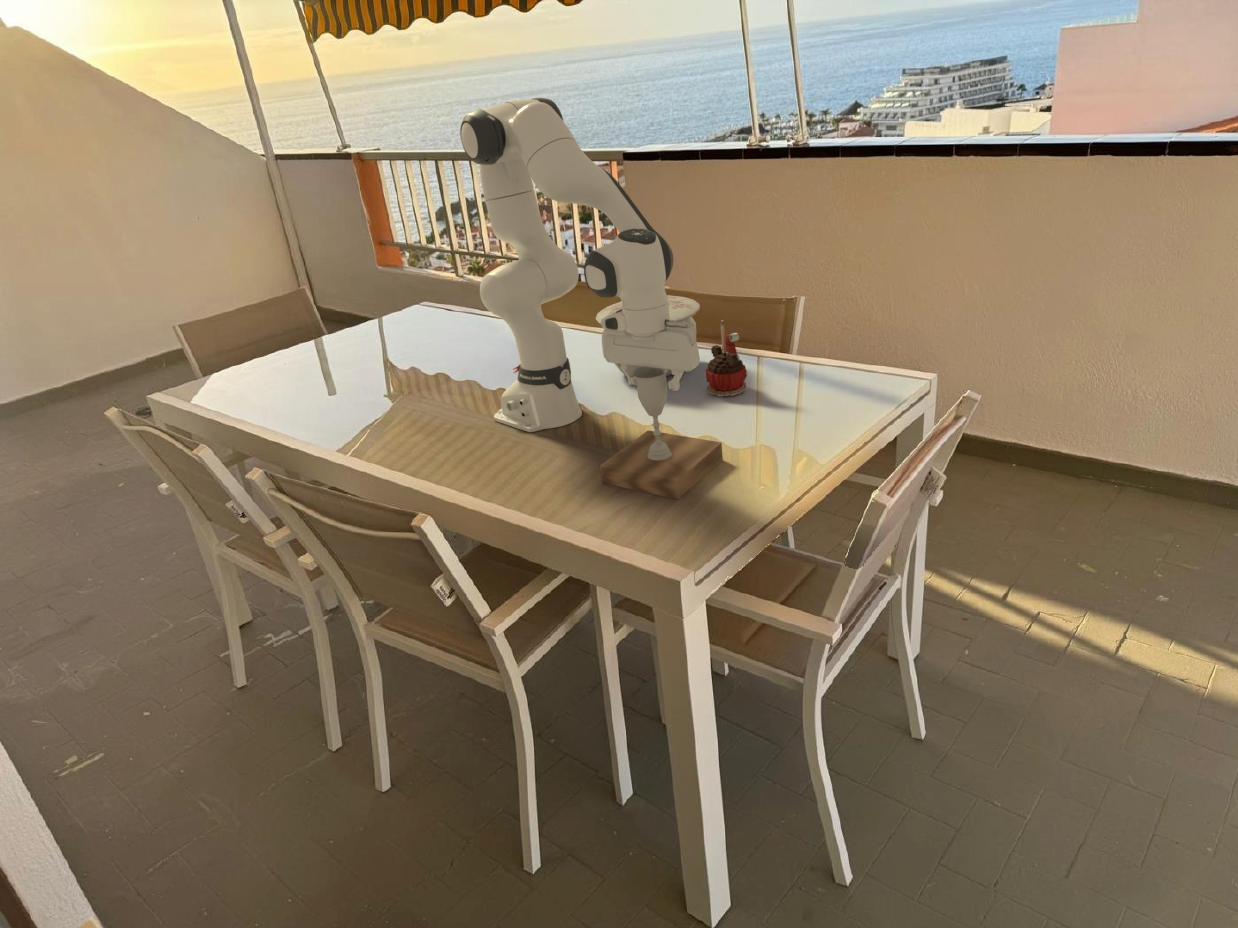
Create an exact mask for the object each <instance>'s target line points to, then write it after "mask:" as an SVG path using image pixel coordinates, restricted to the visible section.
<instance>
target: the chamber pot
mask: <svg viewBox="0 0 1238 928" xmlns="http://www.w3.org/2000/svg"><path fill="white" fill-rule="evenodd" d="M666 295H667V294H666ZM667 297H668V304H669V315H670V320H674V321H680V322H681V321H685V322H688V324H690V325H691V326H692V327H693V328H694V329H695V332H696V333H697V323H696V321H695V320H694V318H693V317H694V316H695V315H696V313H698V312H699V311H700V309H701V308H700V307H701V305H700V303H699V302H698V301H696V300H694V299H692V298H689V297H685V296H678V295H677V296H676V295H671V294H669V295H667ZM621 303H622V302H621V301H619V302H616V303H614V304H611V305H608V306H606V307H605V308H604V307H603V309H602V310H600V311H598V312H597V314H596V317H595V320H596V321H597V322H598V324H600V325H601V320H602V319H603V318H604V317H606V316H608V315H609V314H611V313H613V312H616V311H618V310H620V309H622V308H621ZM688 327H689V326H688ZM613 364H614V365H615V367H617V369H618V370H619V371H620V372H621V373H622V374H623V375H624V376H626V375H625V373H624V372H623V370H622V369H621V364H618V363H613ZM640 367H643V366H635V365H632V366H631V368H632V369H633V371H634V370H636V369H637V368H640ZM669 376H673V375H672V371H671V370H669V369H668V371H667V373H666V377H669Z"/></svg>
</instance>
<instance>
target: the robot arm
mask: <svg viewBox="0 0 1238 928" xmlns="http://www.w3.org/2000/svg"><path fill="white" fill-rule="evenodd" d="M461 121H462V122H461V125H460V133H459V134H460V140H461V144H462V147H463V150H464V152H465V155H466V156H467V158H469V159H470V161H472V162H473V163H475V164H476V165H479V173H480V174H479V175H480V181H481V182H480V183H481V188H482V193H483V198H484V202H485V205H486V210H487V214H488V218H489V222H490V226H491V229H492V232H493V234H494V236H495V237H496V238H497V239H498V240H499V241H501V242H502V243H506V244H510V245H511V246H512V248H513V249H514V250H515V252H516V254H517V256H518V257H517V258H518V260H515V261H511V262H508V263H506V264H503V265H499V266H498V267H496V268H494V269H493V270H491V271H489V272H487V274H485V275H484V276H483V277H482V278H481V281H480V284H479V295H480V299H481V301H482V303H483V305H484V307H485V308H486V309H487V310H488V311H489V312H490V313H491V314H493V315H495V316H497V317H499V318H500V319H502V321H504V322H505V323H506V325H508V327H509V328H510V330H511V332H512V334H513V337H514V339H515V343H516V348H517V352H518V357H519V361H520V363H519V364H518V365H517V366H516V367H514V368H512V370H514V371H513V374H516V373H517V379H515V381H514V382H513V383H512V384H511V385H509V386H508V388H506V390H504V391H503V393H502V395H501V398H500V399H501V400H500V402H501V403H500V404H501V408H500V409H499V410H497V411H496V412H495V414H494V415H493V420H494V421H495V422H497V423H501V424H503V425H506V426H510V427H511V428H512V427H513V428H516V429H518V430H522V431H524V432H527V433H533V432H538V431H542V430H546V429H554V428H560V427H563V426H567V425H570V424H571V423H573V422H575V421H577V420H578V419H580V418H581V416H582V414H583V410H582V408H581V407H580V404H579V401H578V398H577V396H576V392H575V389H574V385H573V381H572V374H571V373H572V370H571V362H570V359H569V358H568V357H567V350H566V345H565V338H564V332H563V329H562V327H561V326H560V325H559V324H558V323H556V322H555V321H553V320H551V319H548V318H546V317H545V316H544V314H543V311H542V305H543V304H546V303H549V302H552V301H553V300H556V299H559V298H561V297H563V296H564V295H566V294H567V293H569V292H570V291H571V290H573V289H574V288H575V287H576V286H577V285H578V282H579V273H580V272H579V268H578V264H577V262H576V260H575V259H574V257H573V256H572V255H571V254H570V253H568V251H565V250H564V249H562V248H561V247H559V245H557V244H556V243H555V241H553V239H552V237H551V236H550V235H549V233H548V231H547V229H546V227H545V224H544V222H543V220H542V216H541V211H540V207H539V204H538V199H537V196H536V192H535V189H534V185H535V187H536V188H537V190H539V191H540V192H541V194H542V195H544V196H545V197H546V198H548V199H550V200H552V201H555V202H558V203H563V204H576V205H580V206H586V207H590V208H593V209H596V210H598V211H601V213H603V214H604V215H605V216H606V217H607V218H608V219H609V221H610V222H611V223H612V225H613V226H614V227H615V229H616V230H617V231H618V234H617V235H616V237H615V239H614V240H613V241H611V242H609V243H607V244H605V245H603V246H600V247H597V248H596V249H594V250H591V251H590V252H589V253H588V254H587V256H586V258H585V261H584V265H583V274H584V280H585V283H586V285H587V288H588V289H589V290H590V291H591V292H592V293H593V294H594V295H596V296H598V297H600V298H603V299H604V298H605V299H607V298H614V297H617V298H619V299H620V300H621V301H620V302H622V303H621V308H622V309H620V310H618V311H616V312H613V313H611V314H609V315H608V316H606V317H604V318H603V319H602V320H601V324H600V325H601V327H602V329H603V331H602V334H601V348H602V356H603V358H604V359H605V360H606V362H607V363H611V364H614V363H618V364H621V369H622V370H623V372H624V373H625V375H624V376H625V377H626V378H627V384H628V386H637V383H636V378H635V377H634V375H633V372H634V371H633V369H632V368H631V366H632V365H635V366H643V367H652V368H661V369H669V370H671V371H672V375H671V376H673V375H674V376H673V378H672V379H670V380H669V381H667V385H668V386H667V387H668V390H669V391H674V392H677V391H679V390H680V386H681V385H680V381H681V378H682V376H683V374H684V372H688V373H689V372H691V371H693V370H694V369H697V367H698V365H700V361H701V357H700V352H699V347H698V342H697V331H696V332H695V329H694V328H693V327H692V326H691V325H690V324H688V322H685V321H681V322H680V321H674V320H670V315H669V304H668V297H667V293H666V282H667V280H668V279H669V277H670V275H671V273H672V270H673V268H674V253H673V250H672V248H671V247H670V246H671V245H669V243H668V241H666V240H665V239H664V237H663V236H662V235H661V234H660V233H658V232H657V231H656V230H655V229H654V228H653V226H651V224H650V223H649V221H648V220H647V219H646V218H645V217H644V214H643V213H642V212H641V211H640V210H639V208H638V207H637V206H636V205H635V203H634V202H633V200H632V199H631V197H630V196H629V195H628V193H627V192H626V191H625V190H624V188H623V187H622V185H621V184H620V183H619V182H618V181H617V180H616V178H615V177H614V176H613V175H612V174H611V172H609V171H607V170H606V169H604V168H601V167H600V166H599V165H597V164H596V162H594V161H592V159H591V158H589V157H588V155H586V154H585V152H584V151H583V150H582V149H581V147H580V146H579V144H578V142H577V140H576V138H575V137H574V135H573V134H572V132H571V130H570V128H569V127H568V126H567V124H566V123H565V121H564V118H563V115H562V112H561V110H560V108H559V107H558V106H557V104H556V102H554V101H553V100H552V99H549V98H545V97H533V98H531V99H518V100H511V101H505V102H504V103H500V104H496V105H492V106H490V107H487V108H484V109H482V108H479V109H476V110H474V111H472V112H470V113H468V114H466V115H465V116H464V117H463V119H462V120H461ZM688 326H689V327H688Z"/></svg>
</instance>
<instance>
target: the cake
mask: <svg viewBox="0 0 1238 928" xmlns="http://www.w3.org/2000/svg"><path fill="white" fill-rule="evenodd" d="M719 322H720V334H721V335H720V337H721V345H718V344H715V345H712V347H711V348H710V350H711V354H712V357H713V359H711V360H709V362H708V363H707V367H706V369H705V375H706V376H705V377H706V383H708V384H709V385H707V388H706V389H707V393H708V394H710V395H712V396H714V395H716V396H717V397H719V396H721V397H723V396H724V397H729V396H731V397H732V396H735V395H740V394H742V392H745V390H747V383H746V382H745V380H746V379H747V377H748V373H747V372H748V370H747V368H746V365H745V364H743V360H742V359H740V355H739V354H738V352H737V349H736V345H735V342H738V341H739V340H740V335H739V333H737V332H733V333H729V334H726V329H725V328H726V327H725V320H723V319H722V320H720V321H719Z"/></svg>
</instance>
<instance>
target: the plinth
mask: <svg viewBox="0 0 1238 928" xmlns="http://www.w3.org/2000/svg"><path fill="white" fill-rule="evenodd" d="M653 432H654V430H649V429H648V430H647V431H645V432H644V433H642V434H640V435H639V436H638V437H637V438H635V439H634V440H632V442H630V443H628V444H627V445H626V446H625V447H623V448H622V449H620V450H619V451H618V452H616V453H615V454H614V455H612V456H611V457H609V458H608V459H607V460H606V461H604V462H603V463H601V464H600V465H599V469H600V475H601V481H602V483H601V484H604V483H605V485H609V486H614V487H618V488H619V487H620V488H624V489H628V490H632V491H637V492H642V493H645V494H646V493H647V494H652V495H656V496H661V497H665V498H670V499H671V498H672V499H676V500H679V499H680V498H682V497H683V496H684V495H685V494H686V493H687V492H689V490H690V489H692V488H693V487H694V486H695V485H696V484H697V483H699V482H700V481H701V480H702V479H703V478H704V477H706V476H707V475H708V474H709V473H710V472H711V471H712V470H713V469H714V468H715V467H717V466H718V465H719V464H720V463H721V462H722V461H723V460H724V457H723V447H722V445H723V444H722V441H714V440H709V439H702V438H696V437H690V436H684V435H677V434H673V433H668V432H661V434H660V440H661V441H662V442H664V443H666V444H667V445H668V448H669V449H670V451H671V452H672V455H671V456H670V457H669V458H667V459H664V460H651V459H649V458H648V457H647V455H648V453H649V449H650V446H651V445H652V444H653V443H654V442H655V441H656V438H655V435H654V434H653Z"/></svg>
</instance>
